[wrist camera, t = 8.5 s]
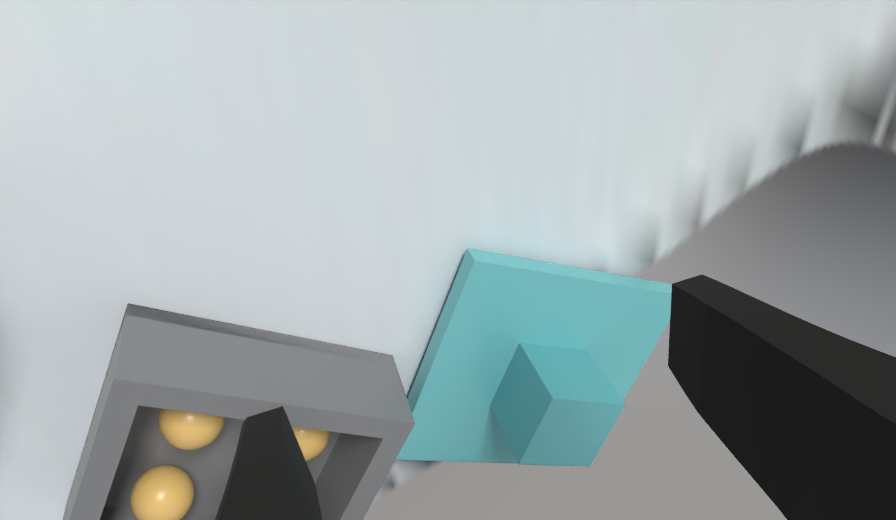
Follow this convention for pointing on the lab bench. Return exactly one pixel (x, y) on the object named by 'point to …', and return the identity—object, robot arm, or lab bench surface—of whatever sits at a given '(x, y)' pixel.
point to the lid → (531, 362)
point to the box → (231, 417)
